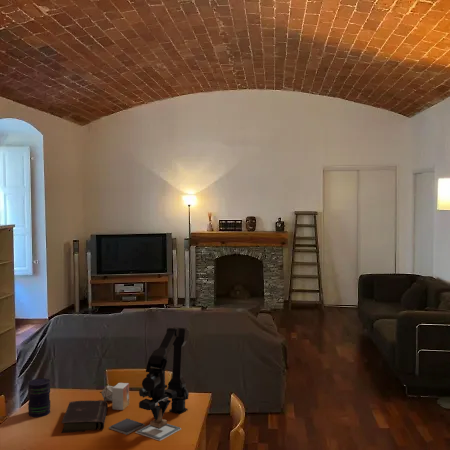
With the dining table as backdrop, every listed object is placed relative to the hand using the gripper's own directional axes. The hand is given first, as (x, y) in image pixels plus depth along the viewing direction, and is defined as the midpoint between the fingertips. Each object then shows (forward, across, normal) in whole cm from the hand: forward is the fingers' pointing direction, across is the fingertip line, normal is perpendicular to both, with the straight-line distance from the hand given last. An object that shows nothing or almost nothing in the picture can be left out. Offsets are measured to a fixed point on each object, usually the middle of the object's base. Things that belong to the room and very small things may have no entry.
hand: (158, 418), depth 227 cm
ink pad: (+5, +5, -14) cm, 16 cm away
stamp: (+3, 0, 0) cm, 3 cm away
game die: (+6, -12, -43) cm, 45 cm away
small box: (+6, -10, -33) cm, 35 cm away
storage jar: (+6, +17, -59) cm, 62 cm away
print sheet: (+5, 0, 0) cm, 5 cm away
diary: (+6, +10, -35) cm, 37 cm away
